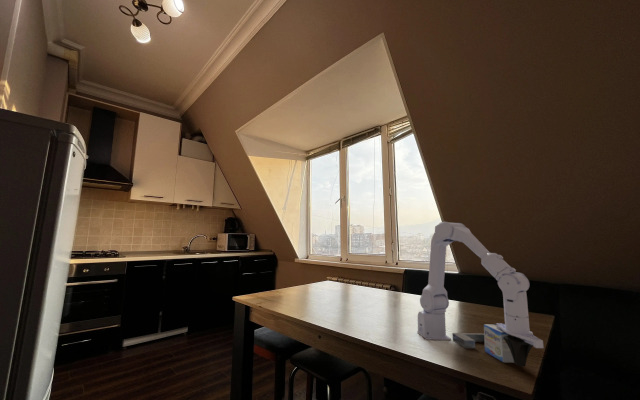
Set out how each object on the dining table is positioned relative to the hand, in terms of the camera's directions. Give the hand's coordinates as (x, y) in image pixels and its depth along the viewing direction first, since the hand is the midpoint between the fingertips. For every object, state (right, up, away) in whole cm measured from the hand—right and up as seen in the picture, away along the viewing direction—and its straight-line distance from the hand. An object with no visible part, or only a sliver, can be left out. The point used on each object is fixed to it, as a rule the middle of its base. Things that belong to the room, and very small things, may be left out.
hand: (520, 365), depth 75 cm
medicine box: (0, -2, +8) cm, 8 cm away
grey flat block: (-1, -4, +17) cm, 17 cm away
